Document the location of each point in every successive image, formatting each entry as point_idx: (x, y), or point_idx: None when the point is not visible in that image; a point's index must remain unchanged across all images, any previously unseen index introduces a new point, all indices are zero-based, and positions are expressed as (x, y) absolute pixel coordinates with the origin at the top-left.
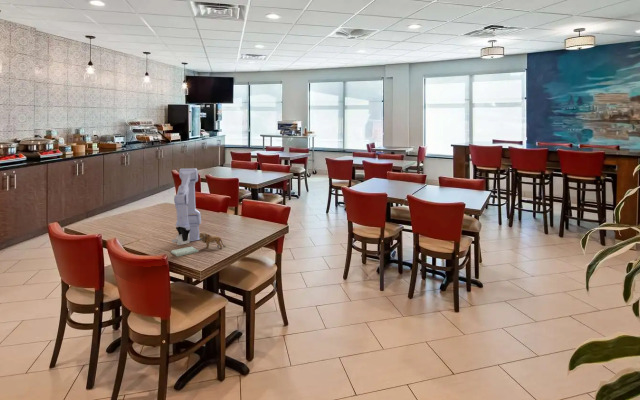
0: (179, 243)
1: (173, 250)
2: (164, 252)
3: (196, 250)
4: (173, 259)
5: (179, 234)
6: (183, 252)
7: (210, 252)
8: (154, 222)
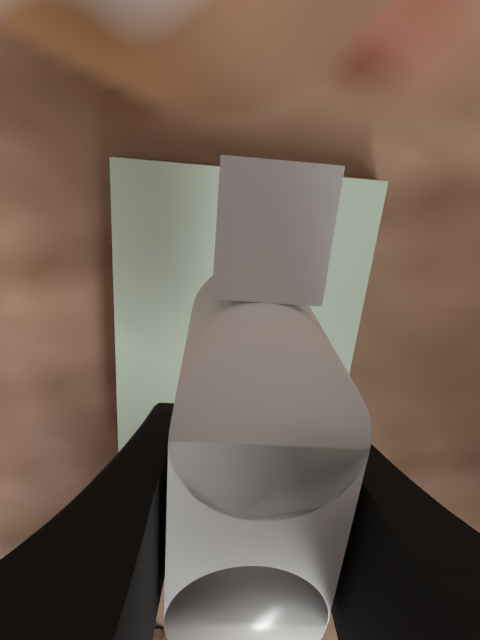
0: (194, 302)
1: (363, 220)
2: (462, 101)
3: (122, 443)
4: (8, 33)
5: (356, 487)
6: (156, 286)
7: (18, 523)
8: None
